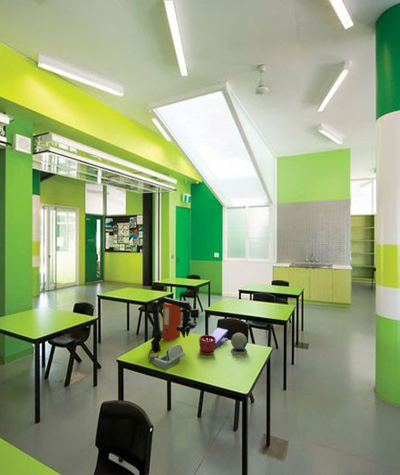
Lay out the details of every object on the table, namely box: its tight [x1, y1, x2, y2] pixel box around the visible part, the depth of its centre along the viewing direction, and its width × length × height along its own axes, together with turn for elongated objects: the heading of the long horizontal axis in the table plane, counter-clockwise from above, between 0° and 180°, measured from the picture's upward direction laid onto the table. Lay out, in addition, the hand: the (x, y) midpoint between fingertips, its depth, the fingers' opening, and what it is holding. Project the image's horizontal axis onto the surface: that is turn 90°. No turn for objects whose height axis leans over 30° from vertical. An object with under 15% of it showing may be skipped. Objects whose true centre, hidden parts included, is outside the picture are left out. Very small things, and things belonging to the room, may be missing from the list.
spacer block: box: [148, 352, 160, 363], centre depth 201 cm, size 5×5×4 cm
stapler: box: [207, 327, 229, 350], centre depth 237 cm, size 12×28×10 cm, turn 149°
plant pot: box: [198, 334, 216, 356], centre depth 217 cm, size 13×13×12 cm
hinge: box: [165, 344, 186, 362], centre depth 207 cm, size 17×5×10 cm, turn 146°
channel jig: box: [153, 353, 181, 370], centre depth 198 cm, size 11×16×4 cm
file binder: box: [161, 302, 182, 342], centre depth 249 cm, size 8×17×32 cm, turn 150°
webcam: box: [230, 332, 248, 356], centre depth 221 cm, size 13×13×15 cm
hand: (185, 336), depth 218 cm, fingers open, 4 cm apart
